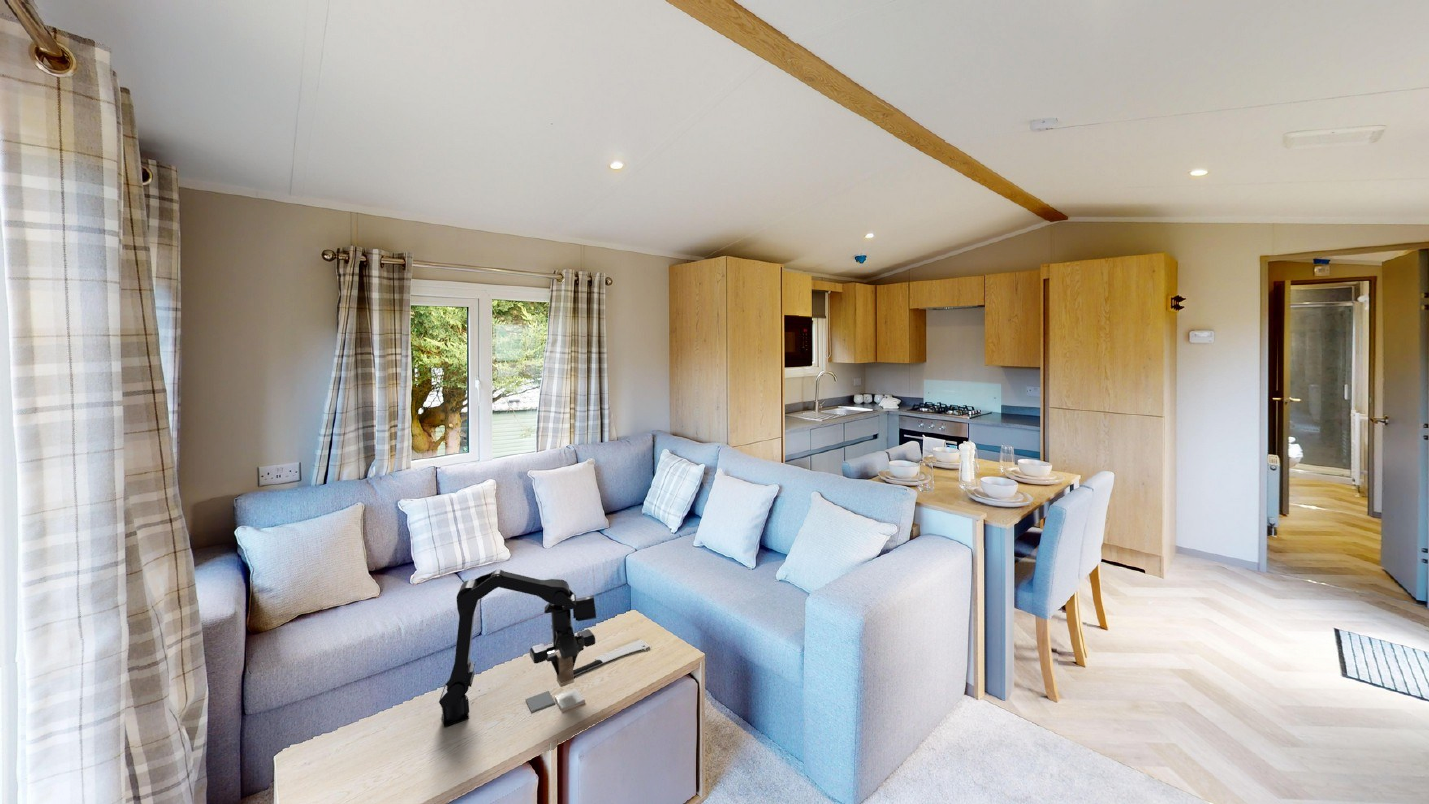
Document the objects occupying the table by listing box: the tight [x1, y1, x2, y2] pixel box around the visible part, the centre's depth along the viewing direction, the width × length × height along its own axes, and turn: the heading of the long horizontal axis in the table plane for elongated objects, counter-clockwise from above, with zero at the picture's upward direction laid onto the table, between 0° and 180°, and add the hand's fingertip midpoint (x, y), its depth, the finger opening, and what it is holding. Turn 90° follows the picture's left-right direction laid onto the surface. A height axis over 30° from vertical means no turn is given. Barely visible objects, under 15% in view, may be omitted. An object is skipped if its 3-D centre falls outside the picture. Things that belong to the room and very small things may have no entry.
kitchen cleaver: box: [573, 639, 650, 678], centre depth 186 cm, size 31×2×10 cm
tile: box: [554, 687, 586, 713], centre depth 163 cm, size 7×2×7 cm
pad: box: [525, 690, 556, 713], centre depth 163 cm, size 7×7×1 cm
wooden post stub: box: [555, 650, 575, 688], centre depth 165 cm, size 4×4×9 cm
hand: (564, 672), depth 165 cm, fingers closed on wooden post stub, 4 cm apart
